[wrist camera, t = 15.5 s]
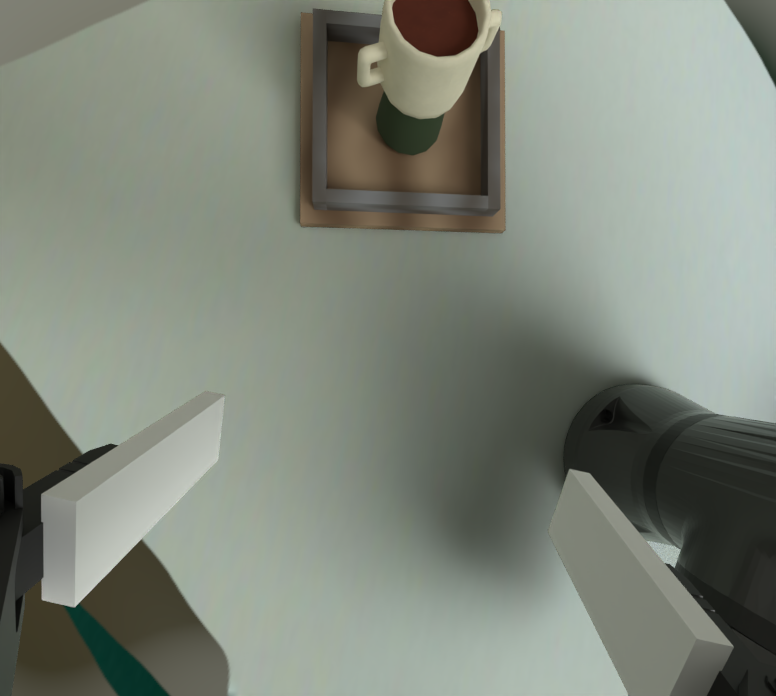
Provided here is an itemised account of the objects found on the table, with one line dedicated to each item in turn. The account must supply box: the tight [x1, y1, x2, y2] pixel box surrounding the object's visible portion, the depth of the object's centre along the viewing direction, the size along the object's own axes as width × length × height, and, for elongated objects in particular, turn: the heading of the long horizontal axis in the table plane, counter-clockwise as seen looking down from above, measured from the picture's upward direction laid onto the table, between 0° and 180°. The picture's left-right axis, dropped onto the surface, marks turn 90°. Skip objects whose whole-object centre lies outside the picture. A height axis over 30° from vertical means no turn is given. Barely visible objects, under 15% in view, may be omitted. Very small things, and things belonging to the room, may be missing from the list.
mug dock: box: [300, 9, 505, 233], centre depth 37 cm, size 20×20×3 cm
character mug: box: [357, 0, 502, 155], centre depth 31 cm, size 11×7×13 cm, turn 111°
